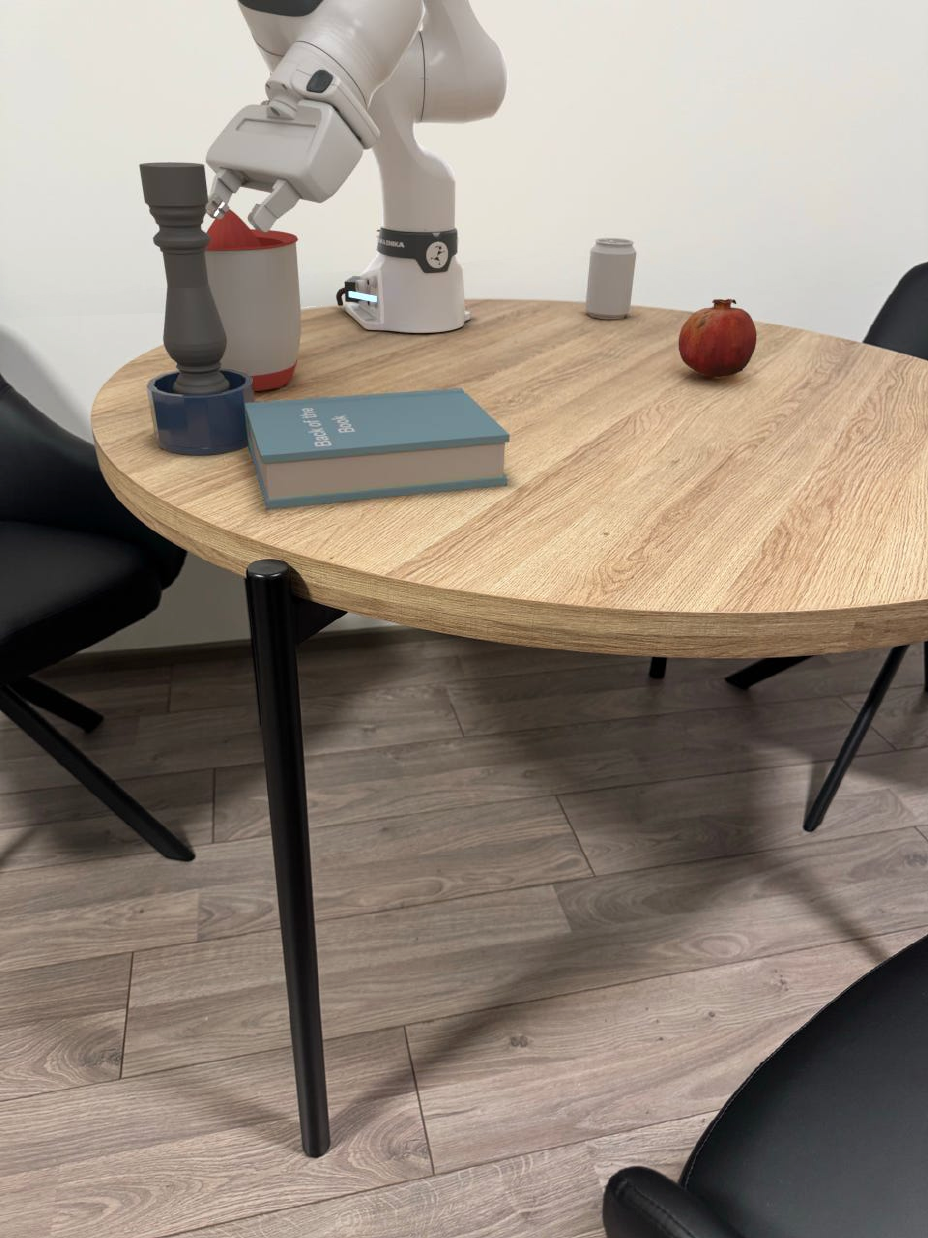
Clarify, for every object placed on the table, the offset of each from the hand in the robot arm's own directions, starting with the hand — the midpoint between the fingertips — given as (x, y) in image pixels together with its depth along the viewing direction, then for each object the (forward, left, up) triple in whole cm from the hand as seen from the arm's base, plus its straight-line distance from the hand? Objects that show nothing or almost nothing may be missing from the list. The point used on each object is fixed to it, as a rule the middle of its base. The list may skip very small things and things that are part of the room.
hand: (232, 220), depth 85 cm
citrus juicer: (-18, +5, -21) cm, 28 cm away
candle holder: (+1, -5, -20) cm, 21 cm away
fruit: (+8, +61, -21) cm, 65 cm away
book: (+16, +7, -21) cm, 27 cm away
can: (-28, +72, -21) cm, 80 cm away
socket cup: (+1, -5, -21) cm, 22 cm away
